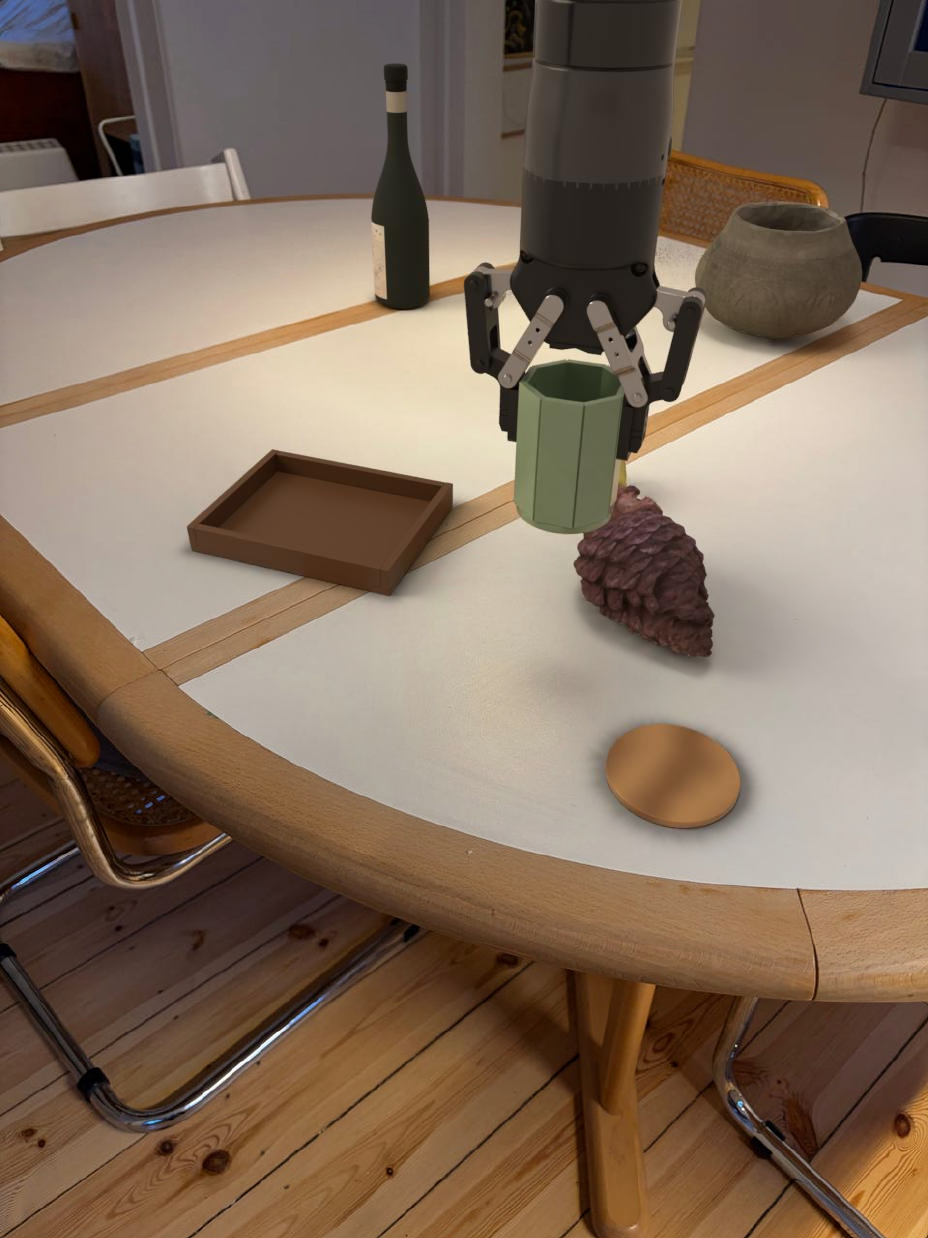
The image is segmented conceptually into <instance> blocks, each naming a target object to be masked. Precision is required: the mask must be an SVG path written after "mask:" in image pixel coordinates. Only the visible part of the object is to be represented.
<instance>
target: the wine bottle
mask: <svg viewBox="0 0 928 1238" xmlns="http://www.w3.org/2000/svg"><path fill="white" fill-rule="evenodd" d="M408 69H409V68H408V66H407V64H404V63H386V64H384V66H383V80H384V83H385V84H384V85H385V102H386V105H385V106H386V126H387V127H386V129H387V142H386V143H387V145H386V153H385V157H384V162H383V165H382V169H381V173H380V176H379V178H378V182H377V185H376V187H375V190H374V191H375V192H374V195H373V200H372V205H371V216H370V217H371V218H370V224H371V243H372V244H371V245H372V246H371V247H372V263H373V264H372V266H373V285H374V297H375V300H376V301H377V302H378V303H379V304H381V305H382V306H384V307H387V308H391V309H397V310H406V309H407V310H409V309H414V308H417V307H420V306H422V305H424V304H425V303H426V302H427V301H428V300H429V298H430V296H431V295H430V294H431V292H430V288H431V286H430V284H431V282H430V278H431V277H430V219H429V211H428V206H427V201H426V197H425V195H424V191H423V189H422V186H421V183H420V180H419V177H418V175H417V171H416V169H415V166H414V163H413V161H412V157H411V152H410V148H409V146H410V145H409V137H408V80H409V74H408V73H409V71H408Z"/></svg>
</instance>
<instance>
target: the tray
mask: <svg viewBox="0 0 928 1238" xmlns="http://www.w3.org/2000/svg"><path fill="white" fill-rule="evenodd" d="M453 507H454V483H452V482H447V481H446V482H445V481H440V480H435V479H430V478H425V477H419V476H414V475H410V474H409V475H408V474H403V473H398V472H393V471H387V470H382V469H377V468H372V467H368V466H362V465H356V464H351V463H346V462H341V461H336V460H330V459H326V458H320V457H315V456H309V455H305V454H299V453H293V452H288V451H283V450H278V449H274V448H272V449H270V450H269V451H268V452H267V453H266V454H265V455H264V456H263V457H262V458H260V460H259V461H257V462H256V463H255V464H254V465H252V467H251V468H249V470H248V471H246V472H245V473H243V475H242V476H241V477H240V478H239V479H237V480H236V481H235V482H234V483H232V485H230V486H229V488H227V489H226V490H225V491H224V492H223V493H222V494H221V495H219V496H218V497H217V498H216V499H215V500H214V501H212V503H211V504H210V505H208V506H207V507H206V508H205V509H204V510H202V512H201V513H199V514H198V516H196V517H195V518H194V519H193V520H192V521H190V523H189V524H188V525H186V530H187V536H188V540H189V545H190V550H191V551H193V552H197V553H202V554H206V555H210V556H214V557H219V558H224V559H228V560H232V561H237V562H241V563H246V564H249V565H255V566H258V567H263V568H268V569H272V570H277V571H281V572H285V573H289V574H294V575H298V576H303V577H307V578H311V579H316V580H319V581H325V582H327V583H332V584H337V585H341V586H347V587H351V588H355V589H360V590H364V591H368V592H371V593H377V594H381V595H384V596H385V595H386V596H391V595H392V593H393V592H394V590H395V589H396V588H397V586H398V585H399V583H400V582H401V581H402V579H403V578H404V576H405V575H406V573H407V572H408V571H409V569H410V568H411V567H412V565H413V564H414V562H415V561H416V559H417V558H418V557H419V555H420V554H421V552H422V551H423V549H424V548H425V546H426V545H427V544H428V542H429V541H430V539H431V538H432V537H433V535H434V534H435V532H436V531H437V529H438V528H439V527H440V526H441V524H442V522H443V521H444V520H445V518H446V517H447V516H448V515H449V513H450V511H451V510H452V509H453Z"/></svg>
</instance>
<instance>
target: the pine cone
mask: <svg viewBox="0 0 928 1238" xmlns="http://www.w3.org/2000/svg"><path fill="white" fill-rule="evenodd" d="M640 495H641V490H640V489H639V488H638V487H637V486H636V485H632V484H631V485H627V487H623V488H620V489H619V488H618V490H617V498H616V502H615V504H614V506H613V513H612V516H611V518H610V520H609V521H608V522H607V523H606V524H605V525H604V526H602V527H600V528H598V529H596V530H593V531H590V532H586V533H582V534H583V535H582V536H583V537H582V539H581V540H580V541H579V542H578V543H577V546H576V549H577V551H578V554H579V555H578V556H577V557H576V559H575V560H574V561H573V563H572V565H573V568H574V569H575V572H576V574H577V575H578V576H579V577H580V578H581V579H580V581H579V583H580V585H581V586H580V590H581V592H582V595H583V597H584V599H585V600H586V601H587V602H589V603H591V604H592V605H593V606H594V607H598V610H599V614H600V615H601V616H603V617H604V618H608V619H609V620H616V621H617V623H618V624H620V625H624V626H625V627H626V628H627V630H628V631H629V632H630V633H631V634H639V635H640V636H641V638H643V639H645V640H649V641H650V642H651V643H652V644H653V645H655V646H656V647H662V646H666V647H668V648H669V649H670V651H674V652H675V653H677V654H680V653H681V654H685V655H687V656H689V657H691V658H696V657H703V658H709V657H711V656H712V654H713V650H712V649H713V647H714V642H713V639H712V638H713V637H714V635H713V629H712V627H713V625H714V618H715V617H716V615H715V613H714V611H713V610H712V608H711V607H710V604H709V602H708V600H709V597H710V595H709V593H708V589H707V587H706V585H705V581H706V578H707V576H708V574H707V572H706V566H705V564H704V560H705V558H704V557H705V556H704V553H702V551H701V550H700V549H699V548H698V546H697V541H696V539H695V538H694V537H692V536H691V535H688V534H687V533H686V529H685V526H683V525H681V524H679V523H676V521H674V520H673V519H672V518H671V517H670V516H667V515H664V511H663V510H662V508H661V506H660V505H658V503H657V502H656V501H655V500H654V499H653V498H651V497H650V496H647V495H644V496H643V498H642V499H640V498H638V496H640Z"/></svg>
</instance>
